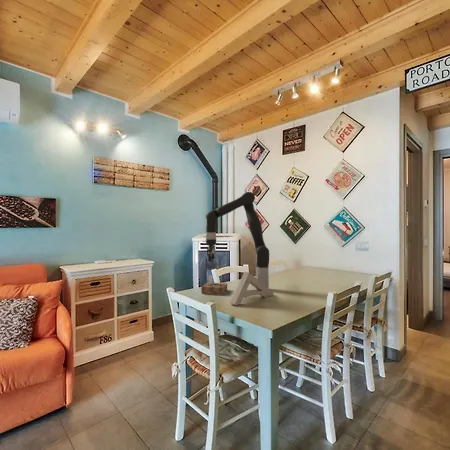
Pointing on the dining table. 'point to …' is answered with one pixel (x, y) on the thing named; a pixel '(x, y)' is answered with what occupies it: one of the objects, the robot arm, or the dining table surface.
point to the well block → (214, 289)
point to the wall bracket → (243, 291)
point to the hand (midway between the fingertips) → (211, 260)
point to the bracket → (211, 281)
